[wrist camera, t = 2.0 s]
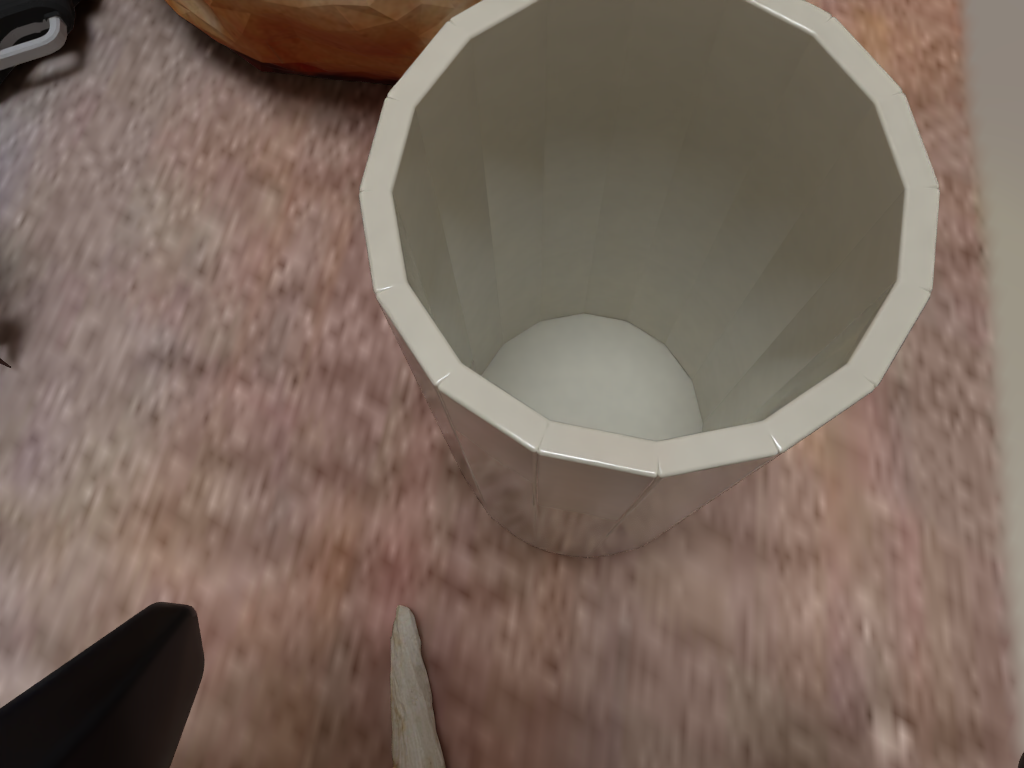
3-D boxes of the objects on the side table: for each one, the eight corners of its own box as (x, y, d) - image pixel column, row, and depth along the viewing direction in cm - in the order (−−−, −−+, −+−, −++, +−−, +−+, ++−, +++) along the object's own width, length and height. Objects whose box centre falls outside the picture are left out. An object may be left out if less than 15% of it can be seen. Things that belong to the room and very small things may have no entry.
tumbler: (740, 530, 21) (1024, 406, 9) (481, 580, 21) (409, 526, 9) (676, 289, 23) (839, -86, 11) (438, 334, 22) (328, 4, 10)
